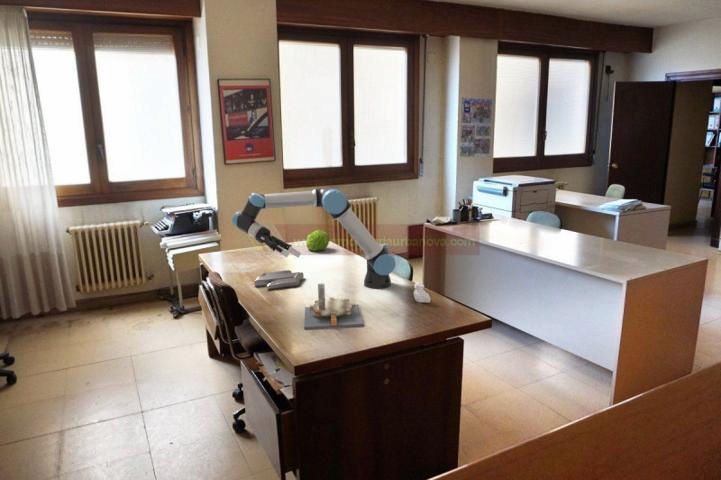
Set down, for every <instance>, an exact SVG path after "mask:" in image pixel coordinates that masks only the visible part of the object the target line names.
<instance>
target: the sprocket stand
mask: <svg viewBox="0 0 721 480" xmlns="http://www.w3.org/2000/svg"><path fill="white" fill-rule="evenodd" d="M303 326H304V330H321V329H337V328H338V329H339V328H356V327H359V328H360V327H364V321H363V317H362V313H361V310H360V305H359V304H355V309H352V310H351V314H349V315H347V314H344V315H340V316H336V318H331V316H322V315H320V316H315V313H314V311H310V306H305V307H304V325H303Z"/></svg>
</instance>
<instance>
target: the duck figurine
mask: <svg viewBox="0 0 721 480" xmlns="http://www.w3.org/2000/svg"><path fill="white" fill-rule="evenodd" d="M413 286H414V290H413V292H412V293H413V297H414V300H415V301H416V302H418V303H427V304H429V303H430V302H431V297H430V294H429V293H428V292H426V290H424V288H425V285H424V284H422V283H421V282H419V281H418V282H417V281H416V282H415V283H414V285H413Z"/></svg>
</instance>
